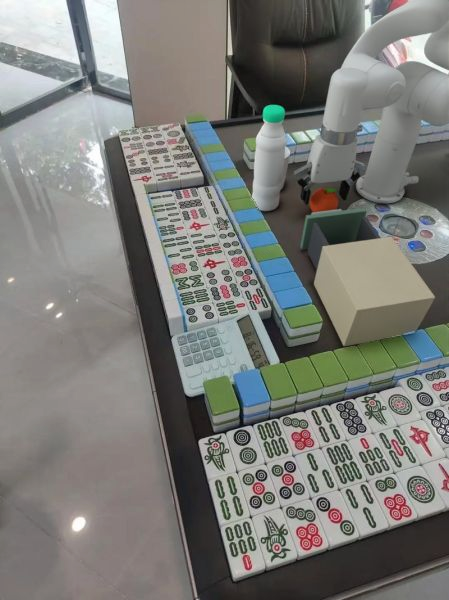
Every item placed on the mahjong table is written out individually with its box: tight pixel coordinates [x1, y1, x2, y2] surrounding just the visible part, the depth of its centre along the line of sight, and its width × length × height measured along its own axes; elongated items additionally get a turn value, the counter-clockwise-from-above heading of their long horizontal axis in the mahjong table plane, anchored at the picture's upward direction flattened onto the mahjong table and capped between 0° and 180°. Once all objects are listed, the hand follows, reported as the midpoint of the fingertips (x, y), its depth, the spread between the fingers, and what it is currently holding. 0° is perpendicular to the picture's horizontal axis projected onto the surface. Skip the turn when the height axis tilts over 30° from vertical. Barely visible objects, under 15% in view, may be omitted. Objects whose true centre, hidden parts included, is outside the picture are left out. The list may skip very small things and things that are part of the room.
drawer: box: [299, 207, 381, 271], centre depth 93 cm, size 20×14×9 cm
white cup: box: [280, 145, 291, 191], centre depth 113 cm, size 8×8×10 cm
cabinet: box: [313, 236, 436, 347], centre depth 84 cm, size 17×15×11 cm
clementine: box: [309, 187, 340, 213], centre depth 107 cm, size 8×7×7 cm
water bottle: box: [251, 104, 288, 212], centre depth 102 cm, size 7×7×25 cm
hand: (323, 199), depth 105 cm, fingers open, 9 cm apart
